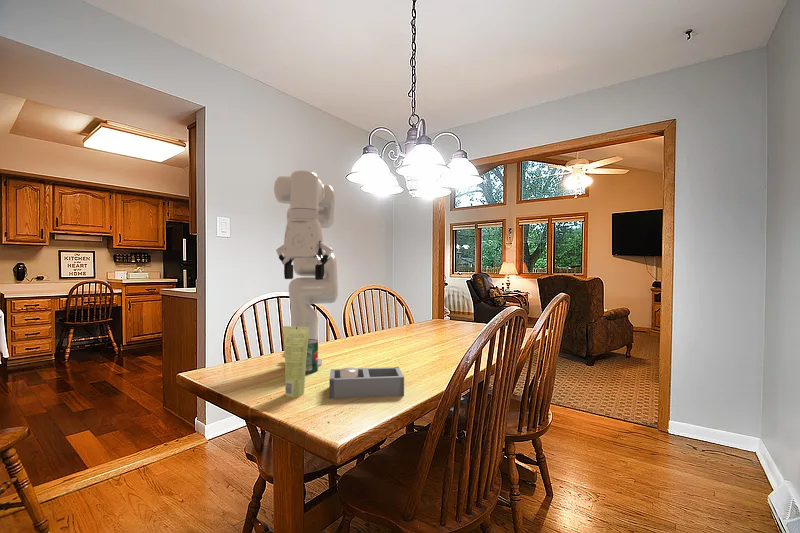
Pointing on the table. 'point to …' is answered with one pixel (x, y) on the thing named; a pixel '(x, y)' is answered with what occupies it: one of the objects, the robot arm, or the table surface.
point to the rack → (367, 383)
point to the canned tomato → (312, 357)
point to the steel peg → (349, 373)
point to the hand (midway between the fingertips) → (303, 279)
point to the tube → (295, 359)
